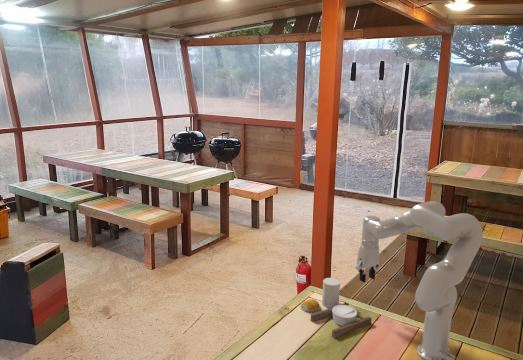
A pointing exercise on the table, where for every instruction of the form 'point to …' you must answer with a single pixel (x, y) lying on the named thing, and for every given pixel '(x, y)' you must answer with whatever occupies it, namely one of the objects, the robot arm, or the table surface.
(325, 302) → the cup
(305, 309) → the bread roll
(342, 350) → the table surface
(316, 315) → the walnut open-sided frame
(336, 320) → the ramekin
